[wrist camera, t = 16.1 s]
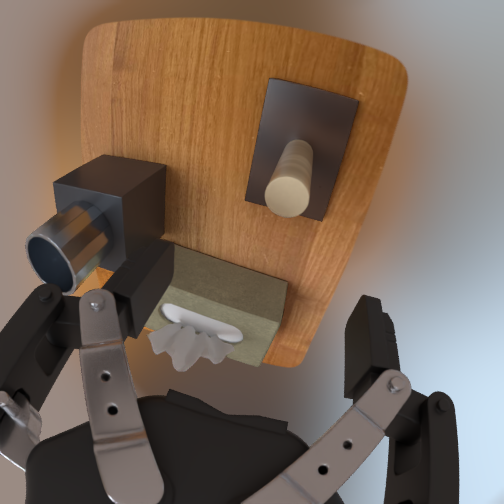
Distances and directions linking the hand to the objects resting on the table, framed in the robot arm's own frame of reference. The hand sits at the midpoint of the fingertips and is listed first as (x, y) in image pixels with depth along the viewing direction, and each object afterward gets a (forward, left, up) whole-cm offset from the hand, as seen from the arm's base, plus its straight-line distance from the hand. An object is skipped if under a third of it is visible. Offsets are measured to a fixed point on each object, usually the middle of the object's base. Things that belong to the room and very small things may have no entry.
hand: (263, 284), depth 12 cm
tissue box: (+22, +5, -23) cm, 32 cm away
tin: (+19, -12, -13) cm, 26 cm away
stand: (+19, -12, -23) cm, 32 cm away
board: (0, 0, -23) cm, 23 cm away
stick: (0, 0, -21) cm, 21 cm away
